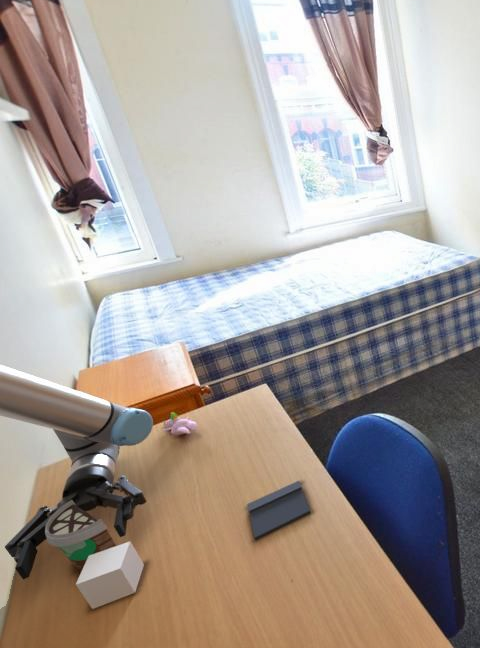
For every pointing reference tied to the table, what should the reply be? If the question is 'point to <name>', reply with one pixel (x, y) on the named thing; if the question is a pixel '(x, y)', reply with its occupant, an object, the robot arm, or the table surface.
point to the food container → (77, 534)
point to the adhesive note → (110, 575)
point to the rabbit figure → (179, 425)
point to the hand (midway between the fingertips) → (72, 551)
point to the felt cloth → (277, 509)
